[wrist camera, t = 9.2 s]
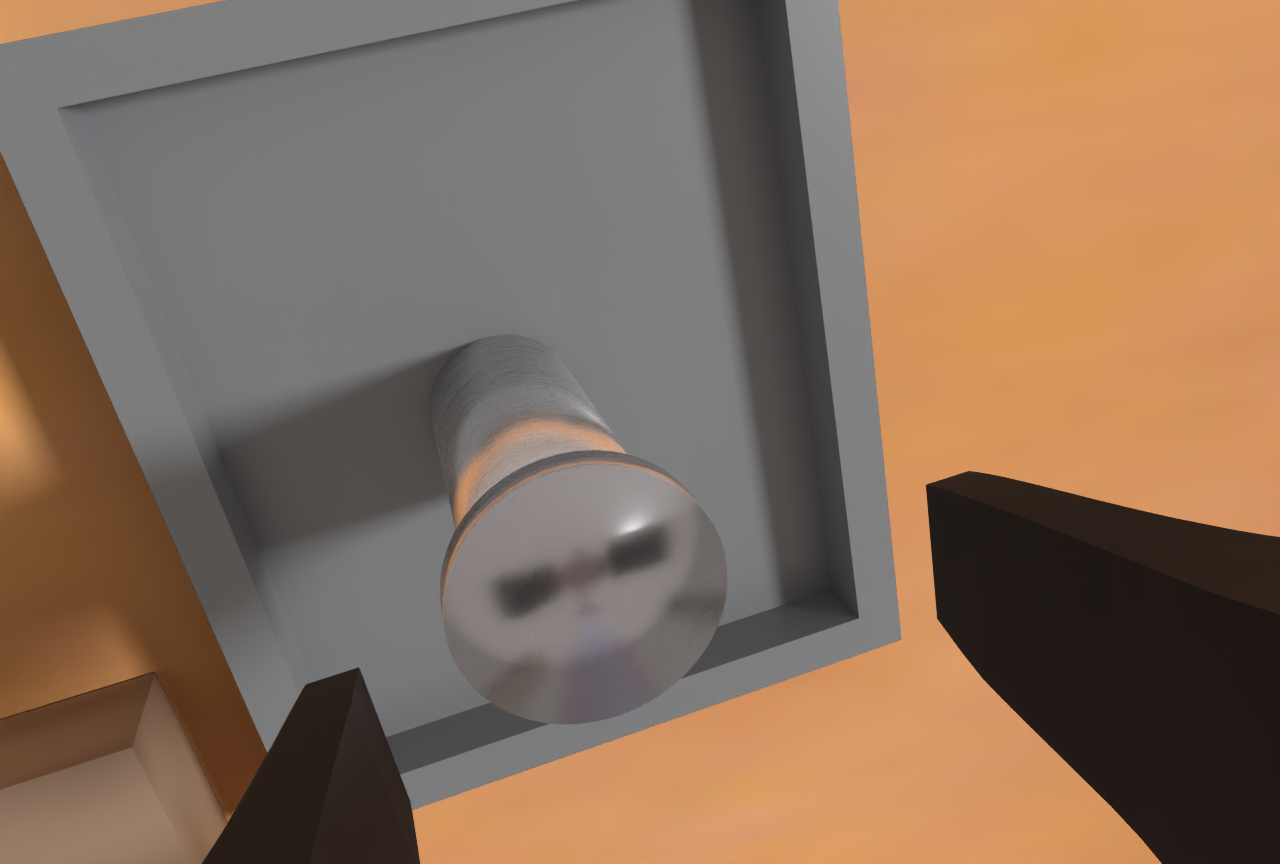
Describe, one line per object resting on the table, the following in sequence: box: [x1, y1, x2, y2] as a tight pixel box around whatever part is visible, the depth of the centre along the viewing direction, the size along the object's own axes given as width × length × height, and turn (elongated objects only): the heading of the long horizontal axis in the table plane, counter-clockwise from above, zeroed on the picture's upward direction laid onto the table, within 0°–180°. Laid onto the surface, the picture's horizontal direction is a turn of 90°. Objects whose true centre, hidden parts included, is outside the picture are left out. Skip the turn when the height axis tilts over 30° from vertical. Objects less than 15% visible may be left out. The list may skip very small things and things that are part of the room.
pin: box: [430, 335, 728, 724], centre depth 16 cm, size 4×4×8 cm
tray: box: [0, 0, 901, 810], centre depth 20 cm, size 16×14×2 cm
